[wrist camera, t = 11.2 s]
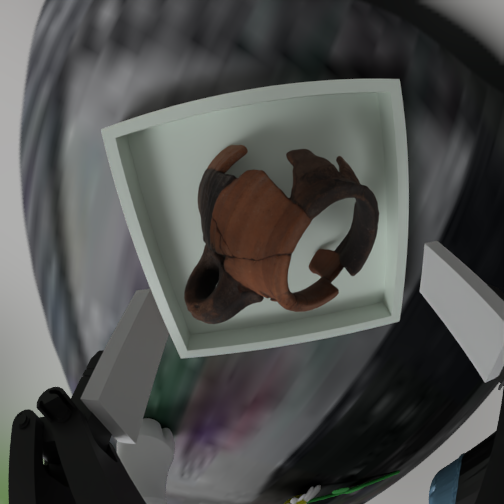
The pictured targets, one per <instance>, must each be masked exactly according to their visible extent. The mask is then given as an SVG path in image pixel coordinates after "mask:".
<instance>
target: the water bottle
mask: <svg viewBox="0 0 504 504" xmlns="http://www.w3.org/2000/svg"><path fill="white" fill-rule="evenodd" d="M174 452H175V442H174V438H173V435H172V432H171V430H170V429H169V428H163V429H162V428H161V426H160V424H159V422H157V421H156V420H154V419H150V418H144V419H143V420H142V424H141V428H140V431H139V435H138V439H137V443H136V444H129V443H120V442H118V441H117V454H118V456H119V458H120V460H121V462H122V464H123V466H124V467H125V469H126V471H127V473H128V475H129V476H130V478H131V480H132V481H133V483H134V485H135V486H136V488H137V490H138V491H139V493H140V494H141V496H142V498H143V499H144V501H145V502H146V504H167V500H166V481H167V476H168V472H169V468H170V466H171V464H172V462H173V459H174Z"/></svg>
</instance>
